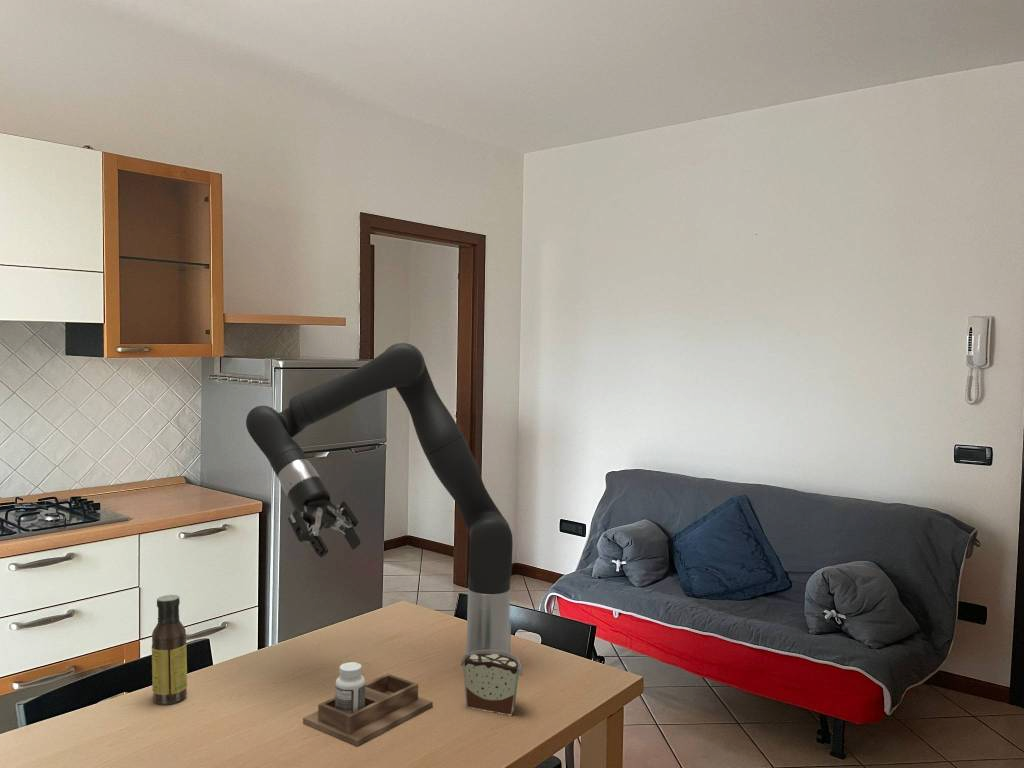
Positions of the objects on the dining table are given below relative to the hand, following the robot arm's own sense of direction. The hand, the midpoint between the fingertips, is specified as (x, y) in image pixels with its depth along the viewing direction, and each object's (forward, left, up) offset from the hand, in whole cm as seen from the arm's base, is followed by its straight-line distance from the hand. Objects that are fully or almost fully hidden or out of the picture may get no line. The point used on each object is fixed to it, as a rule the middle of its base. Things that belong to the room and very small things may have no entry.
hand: (341, 550), depth 159 cm
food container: (-15, +28, -29) cm, 43 cm away
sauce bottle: (+22, -23, -29) cm, 43 cm away
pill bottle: (+8, +12, -28) cm, 31 cm away
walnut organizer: (+3, +12, -29) cm, 31 cm away
